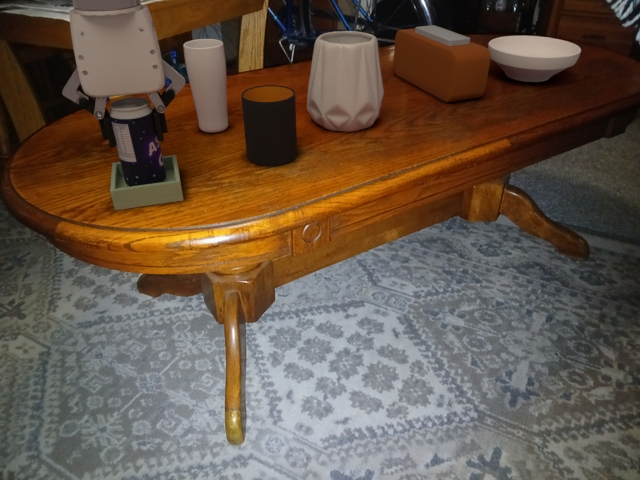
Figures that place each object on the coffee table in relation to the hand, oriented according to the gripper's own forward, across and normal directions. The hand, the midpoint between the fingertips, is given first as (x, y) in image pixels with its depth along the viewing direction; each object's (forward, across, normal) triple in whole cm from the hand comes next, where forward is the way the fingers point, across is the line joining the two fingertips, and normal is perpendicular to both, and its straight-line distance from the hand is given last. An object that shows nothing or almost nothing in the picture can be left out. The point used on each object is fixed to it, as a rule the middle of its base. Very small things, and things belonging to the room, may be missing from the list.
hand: (137, 139), depth 70 cm
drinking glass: (+8, -12, -21) cm, 26 cm away
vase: (+8, -36, -17) cm, 41 cm away
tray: (+8, 0, 0) cm, 8 cm away
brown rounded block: (+8, -62, -31) cm, 70 cm away
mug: (+8, -19, -8) cm, 22 cm away
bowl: (+8, -85, -30) cm, 91 cm away
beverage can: (+7, 0, 0) cm, 7 cm away
